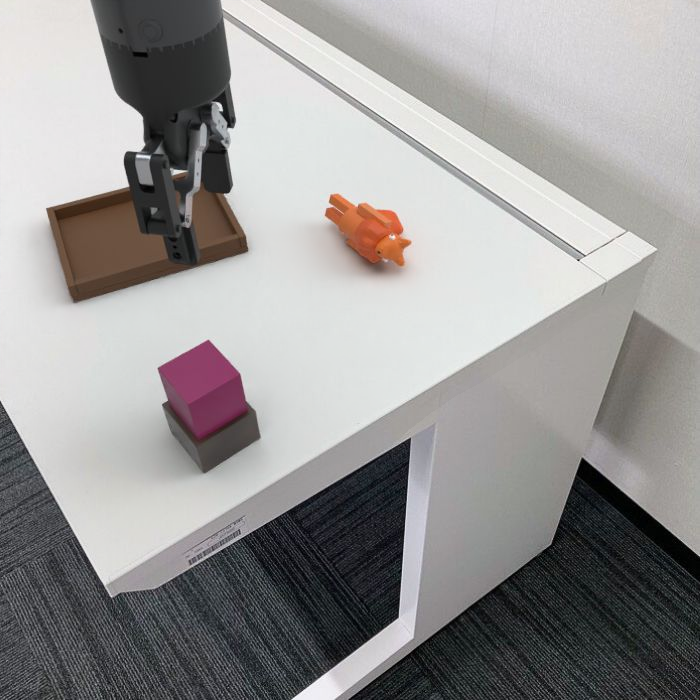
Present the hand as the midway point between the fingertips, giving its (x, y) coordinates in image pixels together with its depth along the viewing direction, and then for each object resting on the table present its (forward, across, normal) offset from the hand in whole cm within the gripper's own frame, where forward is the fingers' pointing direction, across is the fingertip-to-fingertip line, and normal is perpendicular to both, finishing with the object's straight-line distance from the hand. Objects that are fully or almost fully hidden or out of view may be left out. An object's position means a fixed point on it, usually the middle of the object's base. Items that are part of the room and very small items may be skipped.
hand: (203, 224), depth 58 cm
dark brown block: (+20, +5, 0) cm, 21 cm away
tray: (+20, -20, -16) cm, 33 cm away
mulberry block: (+16, +5, 0) cm, 17 cm away
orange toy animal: (+20, -23, +9) cm, 32 cm away
